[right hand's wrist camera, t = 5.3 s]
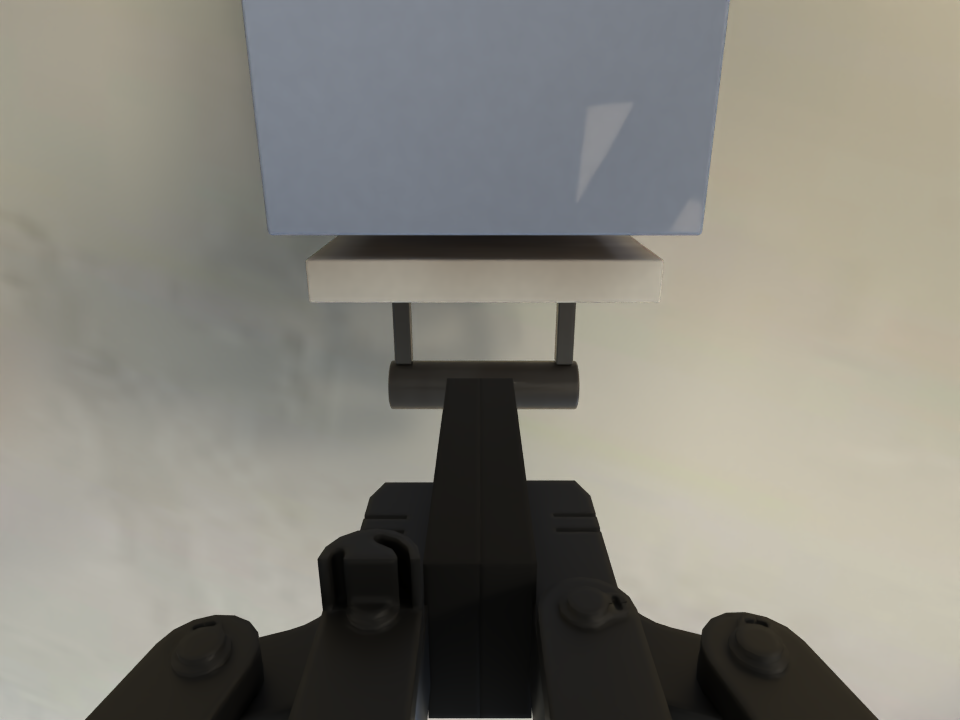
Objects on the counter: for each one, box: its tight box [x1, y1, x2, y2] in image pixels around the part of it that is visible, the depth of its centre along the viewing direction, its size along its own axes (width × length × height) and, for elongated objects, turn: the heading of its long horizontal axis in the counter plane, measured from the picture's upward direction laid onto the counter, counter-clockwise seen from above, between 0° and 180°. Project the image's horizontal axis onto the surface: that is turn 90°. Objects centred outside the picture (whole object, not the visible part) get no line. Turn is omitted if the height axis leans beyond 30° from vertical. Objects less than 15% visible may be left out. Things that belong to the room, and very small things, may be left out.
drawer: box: [306, 235, 664, 409], centre depth 20 cm, size 22×10×10 cm, turn 0°
